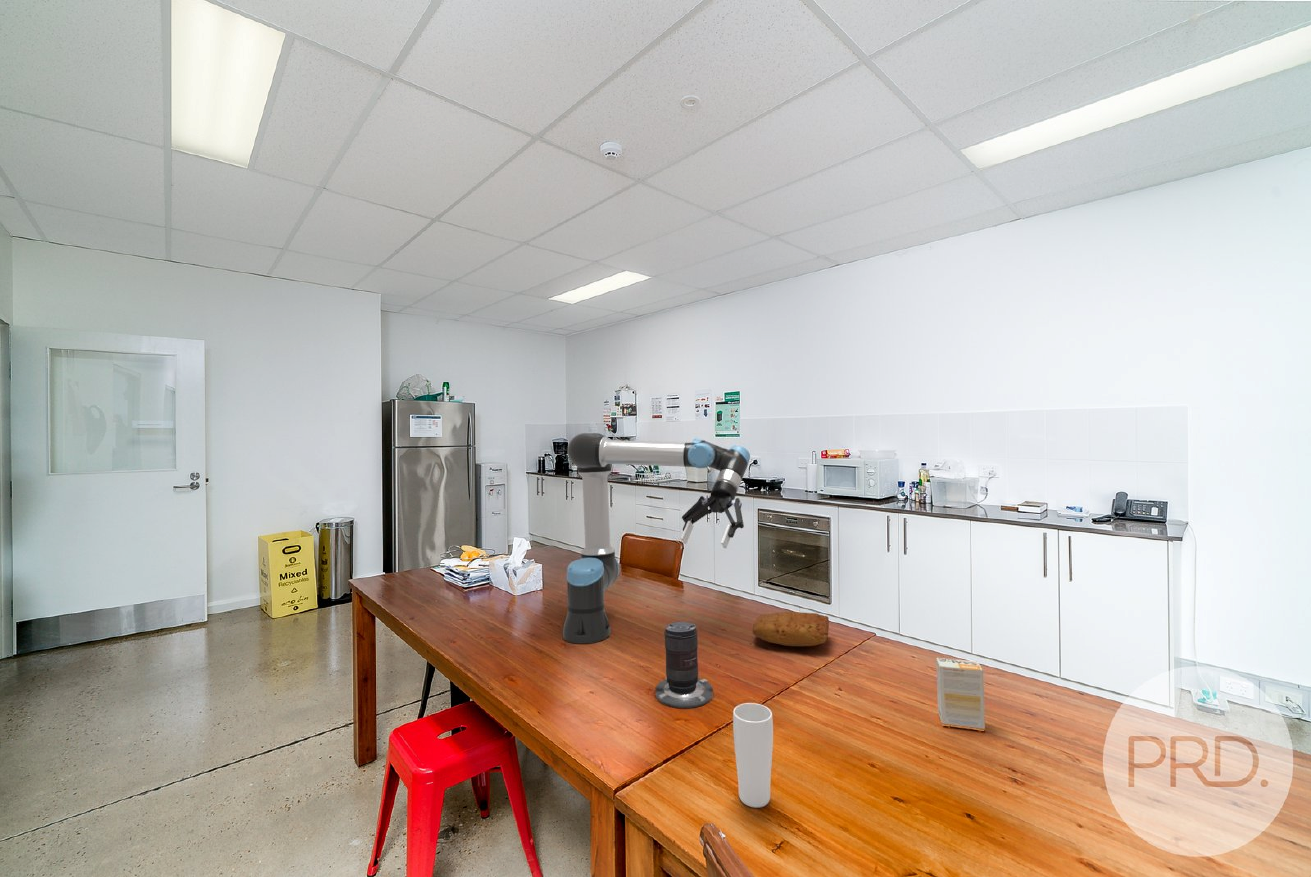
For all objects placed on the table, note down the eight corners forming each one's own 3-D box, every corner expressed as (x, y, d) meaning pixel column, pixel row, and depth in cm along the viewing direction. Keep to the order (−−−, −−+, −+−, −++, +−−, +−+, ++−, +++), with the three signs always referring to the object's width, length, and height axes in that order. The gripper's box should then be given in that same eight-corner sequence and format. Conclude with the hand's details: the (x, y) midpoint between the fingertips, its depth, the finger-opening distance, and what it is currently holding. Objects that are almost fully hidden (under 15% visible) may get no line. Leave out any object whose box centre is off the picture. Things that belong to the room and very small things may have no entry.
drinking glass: (730, 787, 95) (728, 703, 95) (767, 784, 96) (766, 701, 96) (739, 814, 89) (737, 723, 88) (779, 811, 89) (777, 721, 89)
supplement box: (979, 721, 115) (978, 660, 115) (985, 733, 111) (984, 670, 111) (937, 715, 118) (935, 656, 118) (941, 727, 113) (939, 665, 113)
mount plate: (644, 691, 132) (644, 685, 132) (688, 676, 140) (688, 670, 140) (679, 714, 121) (679, 708, 121) (725, 696, 129) (724, 689, 129)
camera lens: (699, 680, 134) (697, 621, 135) (698, 696, 126) (696, 632, 126) (667, 680, 135) (665, 620, 135) (664, 695, 127) (662, 631, 127)
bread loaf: (832, 638, 164) (832, 611, 164) (826, 659, 149) (826, 630, 149) (761, 629, 173) (760, 604, 173) (748, 648, 158) (747, 621, 157)
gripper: (766, 496, 164) (745, 555, 152) (696, 493, 178) (672, 546, 166) (758, 481, 159) (737, 539, 147) (687, 478, 174) (662, 531, 162)
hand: (702, 543), depth 157 cm, fingers open, 13 cm apart
